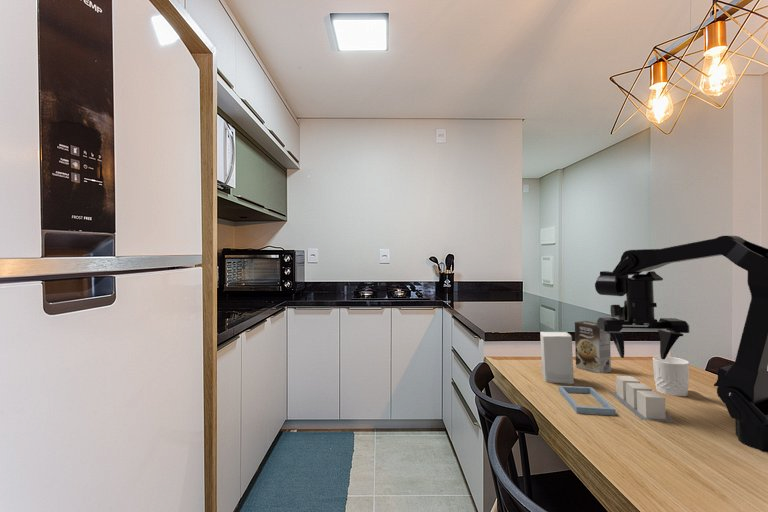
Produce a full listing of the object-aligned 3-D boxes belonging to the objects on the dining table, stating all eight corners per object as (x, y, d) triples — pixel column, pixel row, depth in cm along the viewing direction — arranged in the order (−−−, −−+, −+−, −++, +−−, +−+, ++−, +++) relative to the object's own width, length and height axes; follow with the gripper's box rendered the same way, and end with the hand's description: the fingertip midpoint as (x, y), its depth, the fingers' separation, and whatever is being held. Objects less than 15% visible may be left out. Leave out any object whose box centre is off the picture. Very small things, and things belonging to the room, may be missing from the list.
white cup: (697, 402, 92) (696, 364, 92) (663, 400, 94) (662, 363, 94) (678, 391, 100) (677, 356, 100) (647, 389, 101) (646, 355, 102)
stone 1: (640, 400, 91) (639, 381, 91) (623, 399, 92) (622, 380, 92) (632, 394, 95) (632, 376, 95) (616, 393, 96) (615, 375, 96)
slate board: (676, 427, 79) (675, 421, 79) (641, 424, 80) (641, 419, 80) (637, 397, 96) (636, 393, 96) (609, 396, 97) (608, 392, 97)
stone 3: (665, 419, 80) (665, 397, 80) (646, 418, 81) (645, 396, 81) (655, 411, 84) (655, 391, 84) (637, 410, 85) (636, 390, 85)
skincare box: (569, 380, 110) (568, 331, 110) (575, 388, 104) (573, 336, 104) (541, 378, 112) (539, 330, 113) (544, 386, 106) (543, 335, 106)
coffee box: (574, 367, 123) (573, 322, 124) (586, 364, 126) (585, 320, 126) (600, 374, 115) (598, 326, 115) (612, 371, 118) (610, 324, 118)
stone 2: (652, 409, 86) (651, 389, 86) (634, 408, 87) (633, 388, 87) (643, 402, 90) (642, 383, 90) (626, 401, 90) (625, 382, 91)
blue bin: (615, 420, 83) (615, 409, 83) (576, 417, 85) (576, 407, 85) (591, 396, 97) (591, 387, 97) (558, 394, 99) (558, 385, 99)
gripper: (664, 294, 95) (666, 351, 95) (589, 295, 100) (591, 349, 99) (689, 299, 85) (692, 363, 84) (604, 299, 89) (606, 360, 88)
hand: (642, 358), depth 89 cm, fingers open, 9 cm apart
